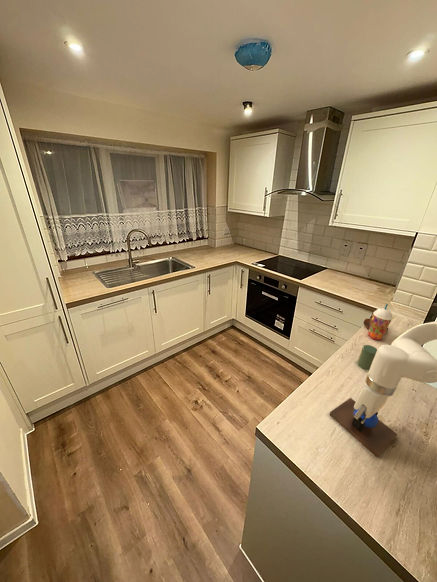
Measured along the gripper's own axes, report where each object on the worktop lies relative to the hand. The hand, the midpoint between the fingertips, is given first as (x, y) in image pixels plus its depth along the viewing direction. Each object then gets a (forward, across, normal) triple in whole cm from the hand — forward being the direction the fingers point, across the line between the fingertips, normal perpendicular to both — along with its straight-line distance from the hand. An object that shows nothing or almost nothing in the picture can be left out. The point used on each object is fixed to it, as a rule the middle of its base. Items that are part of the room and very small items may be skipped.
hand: (363, 422), depth 78 cm
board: (+2, 0, 0) cm, 2 cm away
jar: (+2, -30, -16) cm, 34 cm away
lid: (-3, 0, 0) cm, 3 cm away
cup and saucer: (+2, -65, -30) cm, 72 cm away
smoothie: (+2, -56, -26) cm, 62 cm away
